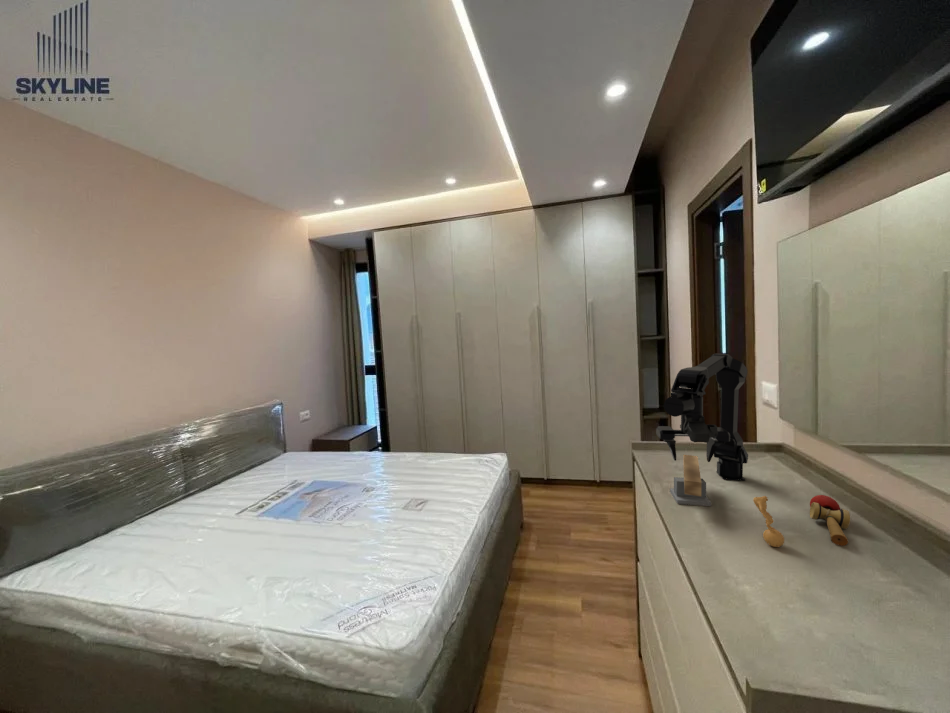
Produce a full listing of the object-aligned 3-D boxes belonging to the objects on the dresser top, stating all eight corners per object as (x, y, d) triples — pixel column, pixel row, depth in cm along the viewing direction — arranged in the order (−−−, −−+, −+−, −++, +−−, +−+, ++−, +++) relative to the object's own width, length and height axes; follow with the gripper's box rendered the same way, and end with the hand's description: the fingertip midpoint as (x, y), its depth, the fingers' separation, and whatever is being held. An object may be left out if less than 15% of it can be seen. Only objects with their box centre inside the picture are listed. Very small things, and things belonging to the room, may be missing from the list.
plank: (697, 467, 120) (697, 456, 120) (701, 496, 101) (701, 482, 101) (683, 466, 122) (683, 454, 122) (684, 493, 103) (684, 480, 103)
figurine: (787, 557, 83) (788, 507, 82) (754, 549, 87) (755, 501, 86) (781, 538, 90) (782, 492, 89) (750, 532, 94) (751, 487, 93)
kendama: (866, 556, 85) (843, 511, 99) (861, 531, 84) (839, 490, 99) (821, 551, 89) (806, 509, 104) (816, 528, 88) (802, 489, 103)
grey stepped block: (701, 493, 115) (701, 475, 114) (711, 506, 107) (711, 486, 107) (669, 491, 117) (669, 473, 117) (677, 503, 109) (677, 484, 109)
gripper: (665, 417, 104) (665, 469, 106) (739, 418, 100) (738, 473, 101) (655, 408, 115) (655, 456, 116) (722, 408, 111) (721, 458, 112)
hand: (691, 460), depth 111 cm, fingers open, 9 cm apart
